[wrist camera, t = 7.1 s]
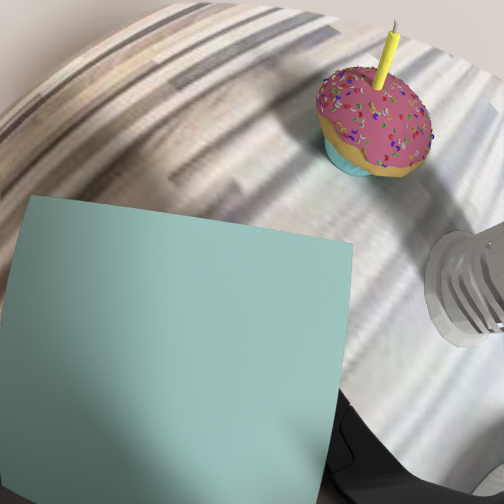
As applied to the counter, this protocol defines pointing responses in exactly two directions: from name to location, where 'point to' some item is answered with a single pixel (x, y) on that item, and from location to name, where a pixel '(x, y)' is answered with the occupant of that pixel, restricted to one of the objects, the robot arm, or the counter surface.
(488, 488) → the ramekin
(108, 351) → the sage block
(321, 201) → the counter surface
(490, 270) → the french press
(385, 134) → the cupcake
